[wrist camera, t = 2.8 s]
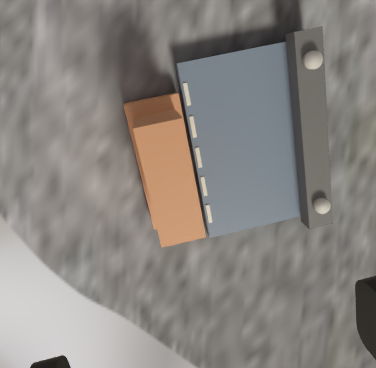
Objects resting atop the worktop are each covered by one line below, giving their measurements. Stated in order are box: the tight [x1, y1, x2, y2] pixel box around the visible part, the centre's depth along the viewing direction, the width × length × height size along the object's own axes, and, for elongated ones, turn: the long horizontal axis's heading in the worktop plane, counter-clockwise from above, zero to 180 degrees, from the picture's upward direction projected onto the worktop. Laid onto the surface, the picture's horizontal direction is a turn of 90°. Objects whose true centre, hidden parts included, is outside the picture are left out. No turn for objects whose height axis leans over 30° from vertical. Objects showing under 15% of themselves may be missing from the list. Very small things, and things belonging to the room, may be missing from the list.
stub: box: [123, 92, 206, 247], centre depth 24 cm, size 10×4×6 cm, turn 11°
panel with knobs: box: [175, 27, 333, 238], centre depth 27 cm, size 15×10×3 cm, turn 11°
